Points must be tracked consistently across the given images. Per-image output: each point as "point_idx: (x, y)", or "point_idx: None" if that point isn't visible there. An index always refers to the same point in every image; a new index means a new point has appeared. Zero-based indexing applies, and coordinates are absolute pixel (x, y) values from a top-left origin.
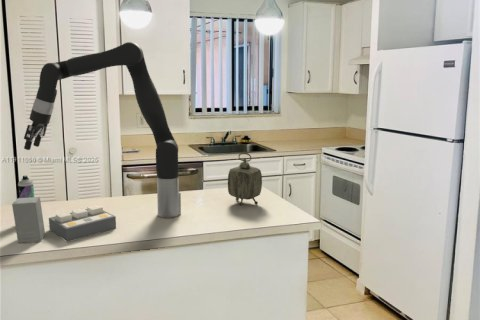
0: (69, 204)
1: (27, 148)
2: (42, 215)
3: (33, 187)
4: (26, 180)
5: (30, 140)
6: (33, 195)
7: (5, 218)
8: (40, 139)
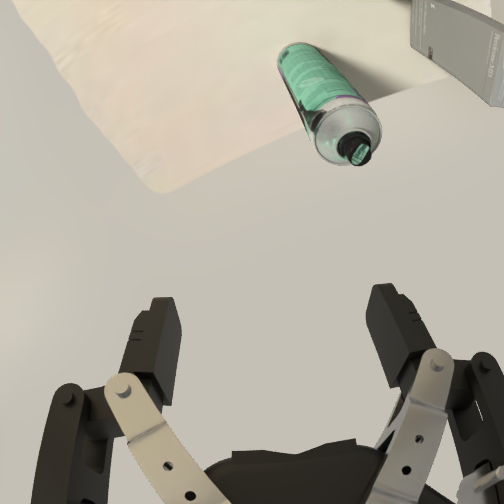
0: (86, 33)
1: (405, 300)
2: (454, 7)
3: (333, 90)
4: (366, 133)
5: (479, 357)
6: (331, 75)
7: (258, 145)
8: (150, 365)
